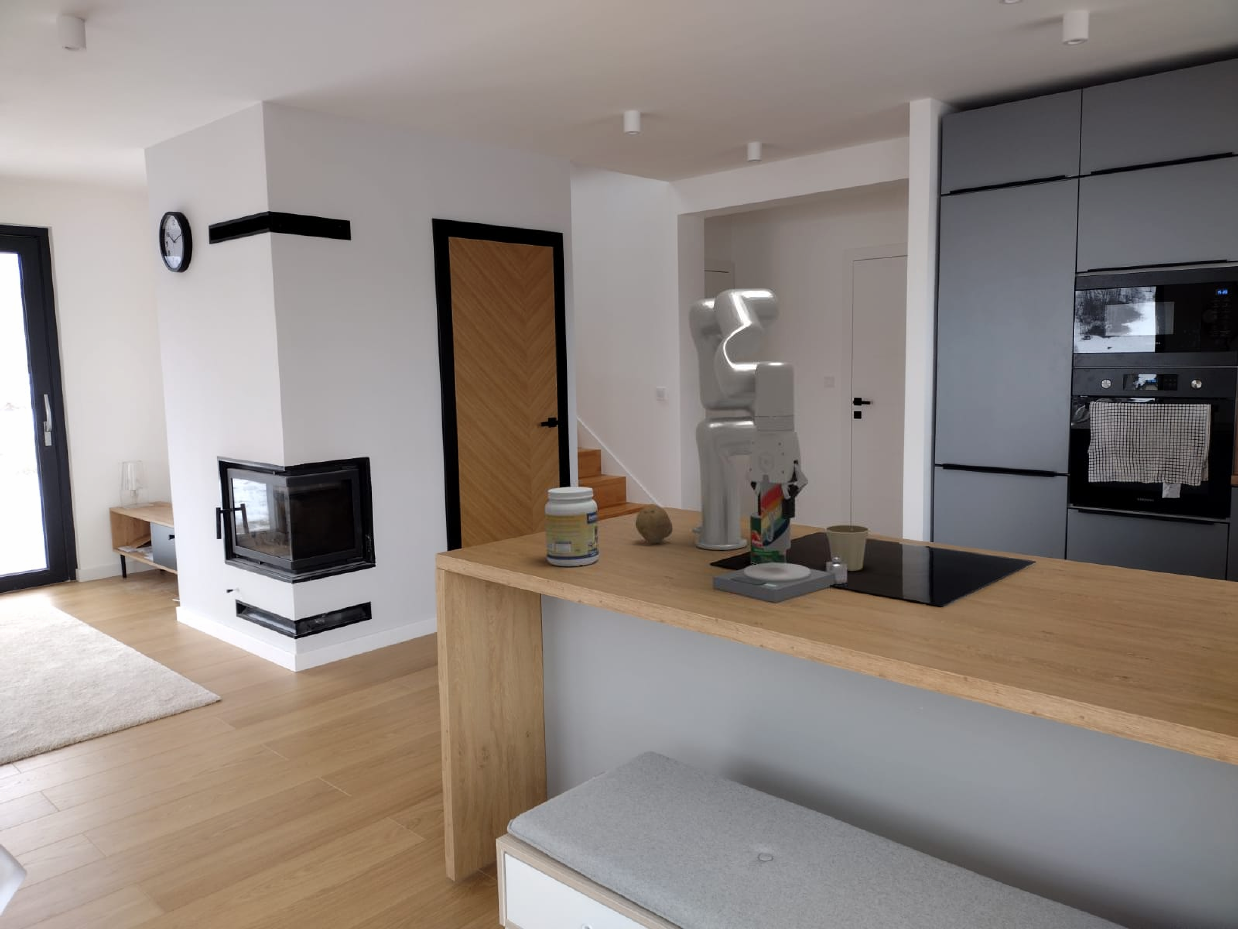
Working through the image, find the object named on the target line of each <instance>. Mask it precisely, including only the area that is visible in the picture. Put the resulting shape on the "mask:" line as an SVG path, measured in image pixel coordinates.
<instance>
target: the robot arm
mask: <svg viewBox="0 0 1238 929" xmlns="http://www.w3.org/2000/svg"><path fill="white" fill-rule="evenodd" d="M688 312H689V313H688V324H689V326H688V327H689V332H690V335H691V339H692V341H693V343H694V346H695V349H696V354H697V360H698V362H697V363H698V382H699V384H698V385H699V396H700V398H699V399H700V403H701V406H702V408H703V409H704V410H707V411H709V412H738V411H739V412H740V411H741V412H742V411H743V412H744V413H745V415H743V416H742V415H741V416H715V417H714V416H713V417H709V418H706V419H703V420H701V421H700V422H699V423H698V424H697V426H696V428H695V442H696V446H697V452H698V459H699V472H700V476H699V478H700V508H701V509H700V513H701V525H699V524H697V525H696V526H695V527H693V528H692V533H693V534H697V535H698V538H697V539H696V540H695V546H696V547H698V548H699V549H706V550H713V551H715V550H716V551H720V550H721V551H722V550H723V551H725V550H726V551H727V550H728V551H729V550H736V549H743V548H744V547H746V546H747V545H748V540H747V539H746V538H744V537H741V535H742V534H741V496H740V495H741V493H740V491H741V486H740V481H741V480H740V473H739V470H738V468H737V467H736V466H735V464H734V463H733V462H732V461H731V460H730V458H729V457H734V456H748V471H747V473H746V474H745V475H744V477H745V480H747V483H748V484H750V487H751V488H752V489H753V491H754V495H755V496H756V497H757V512H758V516H761V492H760V483H761V482H762V480H763V475H768V477H769V482H770V483H773V484H781V487H782V490H783V494H784V497H785V498H784V499H782V518H783V519H789V518H790V519H794V518H795V517H796V498H798V496H799V494H800V492H801V491H802V490H803V489H804V488H805V487H806V486H807V485H808V483H809V480H808V478H807V476H806V475H805V474H804V472H803V471H802V457H801V448H800V443H799V442H800V441H799V437H798V433H797V432H796V430H795V373H794V372H795V369H794V366H793V364H792V363H791V362H789V361H777V360H776V361H775V360H773V361H772V360H771V361H769V360H767V361H765V360H764V361H758V360H757V361H738V360H740V359H744V358H745V357H747V356H750V355H752V354H753V353H755V352H756V351H757V350H758V349H760V347H761V346H762V345H763V343H764V340H765V330H767V329H770V328H771V327H773V326H774V325H775V324H776V323H777V321H778V319H779V316H780V303H779V299H778V297H777V295H776V293H775V292H774V291H772V290H771V289H768V288H731V289H726V290H724V291H722V292H720V293H719V294H717V296H716V297H712V298H711V297H710V298H703V299H700V300H696V301H695V302H693V304H692V305H690V308H689V311H688ZM721 335H722V336H721ZM788 481H789V482H788ZM788 486H789V487H788ZM789 488H790V490H789Z"/></svg>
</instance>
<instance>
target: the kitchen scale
mask: <svg viewBox="0 0 1238 929" xmlns="http://www.w3.org/2000/svg"><path fill="white" fill-rule="evenodd" d="M833 584H835V573H830V572H826V571H822V570H818V569H813V568H809V567H807V566H803V565H800V564H794V563H787V562H786V563H776V562H769V563H764V564H756V565H754V564H751V565H749V566H746V567H745V568H741V569H738V570H734V571H729V572H725V573H722V574H717V575H713V576H712V589H714V590H718V589H719V591H724V592H727V593H731V592H732V594H736V595H741V596H745V597H748V598H749V597H750V598H752V599H758V600H762V601H765V602H771V603H775V604H776V603H779V602H783V601H786V600H790V599H793V598H798V597H799V596H803V595H806V594H810V593H813V592H816V591H821V590H824V589H828V588H830V585H833Z"/></svg>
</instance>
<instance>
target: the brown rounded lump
mask: <svg viewBox="0 0 1238 929" xmlns="http://www.w3.org/2000/svg"><path fill="white" fill-rule="evenodd" d="M635 528H636V530H637V531H638V533H639V534H640V535H641V537H643V539H644V540H645V541H647V542H649V543H650V544H652V545H653V544H654V545H655V544H659V543H660V542H662V541H663V540H664V539H665V538H668V537H669V536H670V535H671V534H672V533H673V524H672V521H671V519H670V517H669V515H668V513H667V512H666V510H665V509H663V507H662V506H660V505H658V504H654V503H650V504H647V505H646V506H643V507H642V508H641V509H640V510H639V512H638V513H637V515H636V518H635Z"/></svg>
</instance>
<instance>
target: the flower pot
mask: <svg viewBox="0 0 1238 929" xmlns="http://www.w3.org/2000/svg"><path fill="white" fill-rule="evenodd" d="M824 531H825V532H826V537H827V540H828V544H829V549H830V557H831V559H832V557H841V562H845V563H847V571H850V572H854V571H860V570H862V569H863V567H864V557H865V550H866V544H867V539H868V537H869V533H870V532H871V528H869V527H867V526H865V525H864V526H863V525H858V524H857V525H856V524H836V525H834V524H833V525H829V526H826V527H824Z"/></svg>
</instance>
